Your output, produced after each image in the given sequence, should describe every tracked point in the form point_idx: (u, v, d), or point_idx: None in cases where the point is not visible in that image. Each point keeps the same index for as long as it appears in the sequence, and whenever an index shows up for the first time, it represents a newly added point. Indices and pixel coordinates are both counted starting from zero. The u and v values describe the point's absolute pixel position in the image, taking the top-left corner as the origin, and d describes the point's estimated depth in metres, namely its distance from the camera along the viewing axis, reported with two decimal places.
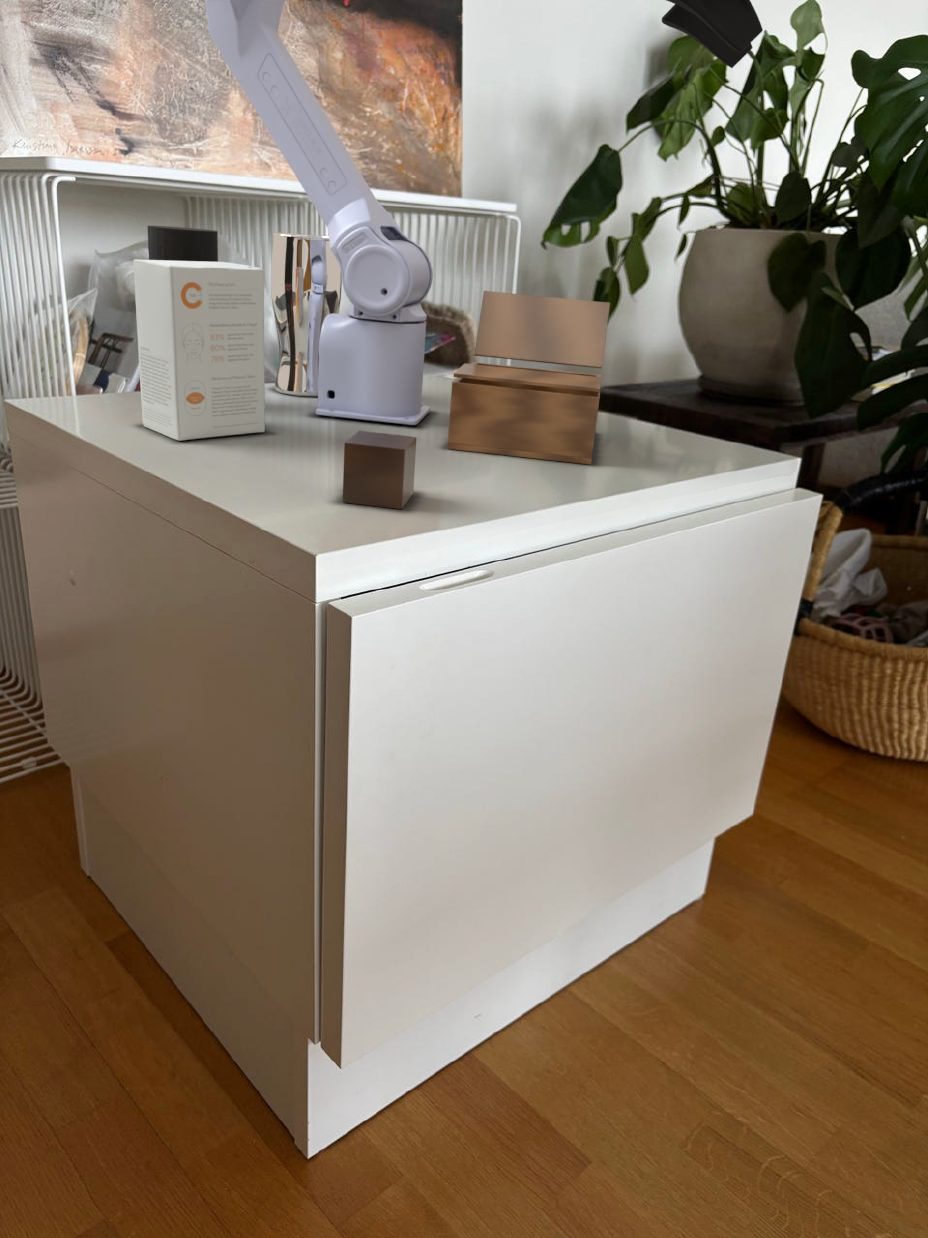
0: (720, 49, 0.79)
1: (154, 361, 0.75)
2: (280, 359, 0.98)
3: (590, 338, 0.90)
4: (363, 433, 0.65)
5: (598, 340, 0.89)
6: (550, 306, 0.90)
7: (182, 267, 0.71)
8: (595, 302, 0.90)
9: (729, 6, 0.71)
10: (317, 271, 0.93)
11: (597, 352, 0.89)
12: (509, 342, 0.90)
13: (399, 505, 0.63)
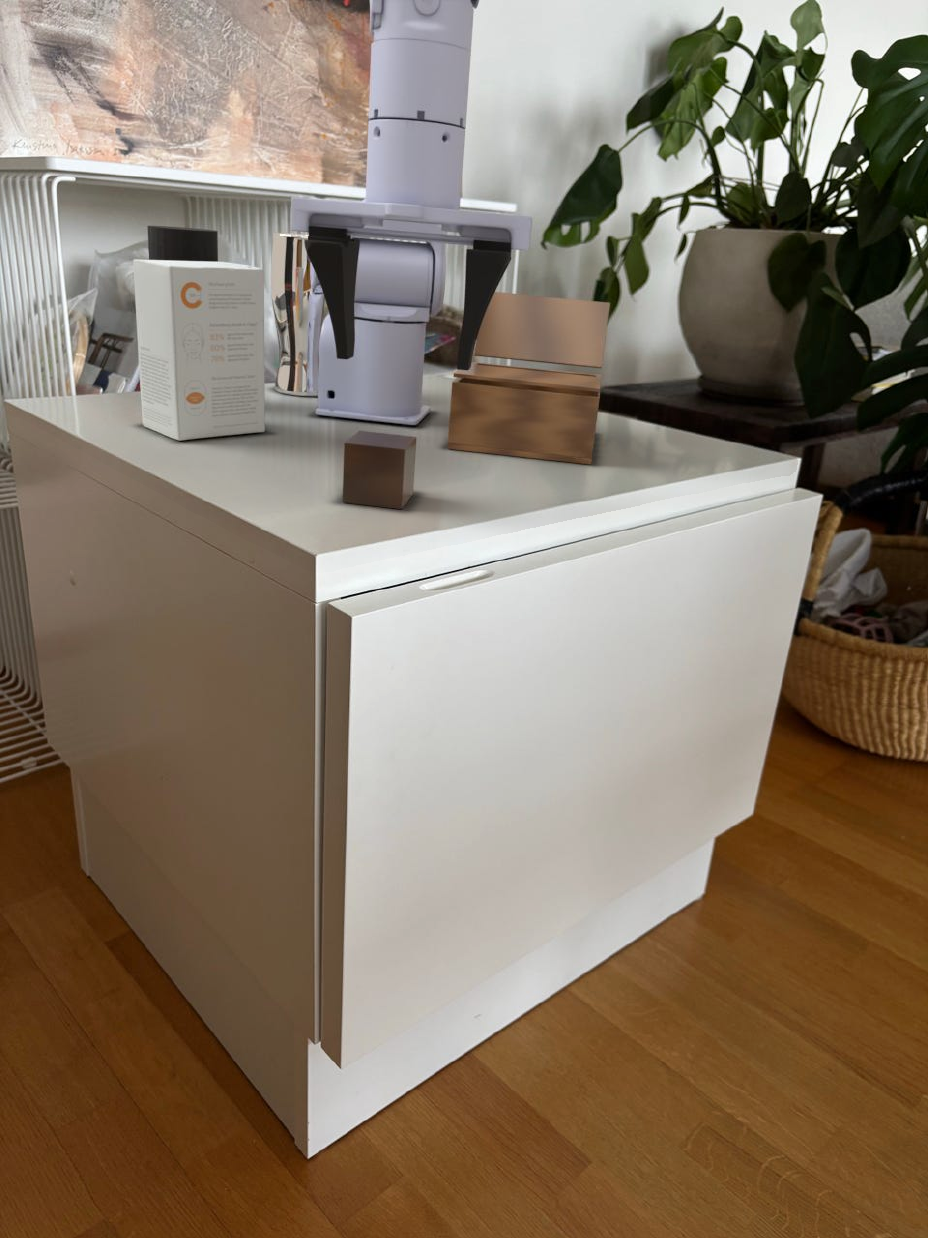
0: None
1: (154, 361, 0.75)
2: (280, 359, 0.98)
3: (590, 338, 0.90)
4: (363, 433, 0.65)
5: (598, 340, 0.89)
6: (550, 306, 0.90)
7: (182, 267, 0.71)
8: (595, 302, 0.90)
9: None
10: None
11: (597, 352, 0.89)
12: (509, 342, 0.90)
13: (399, 505, 0.63)
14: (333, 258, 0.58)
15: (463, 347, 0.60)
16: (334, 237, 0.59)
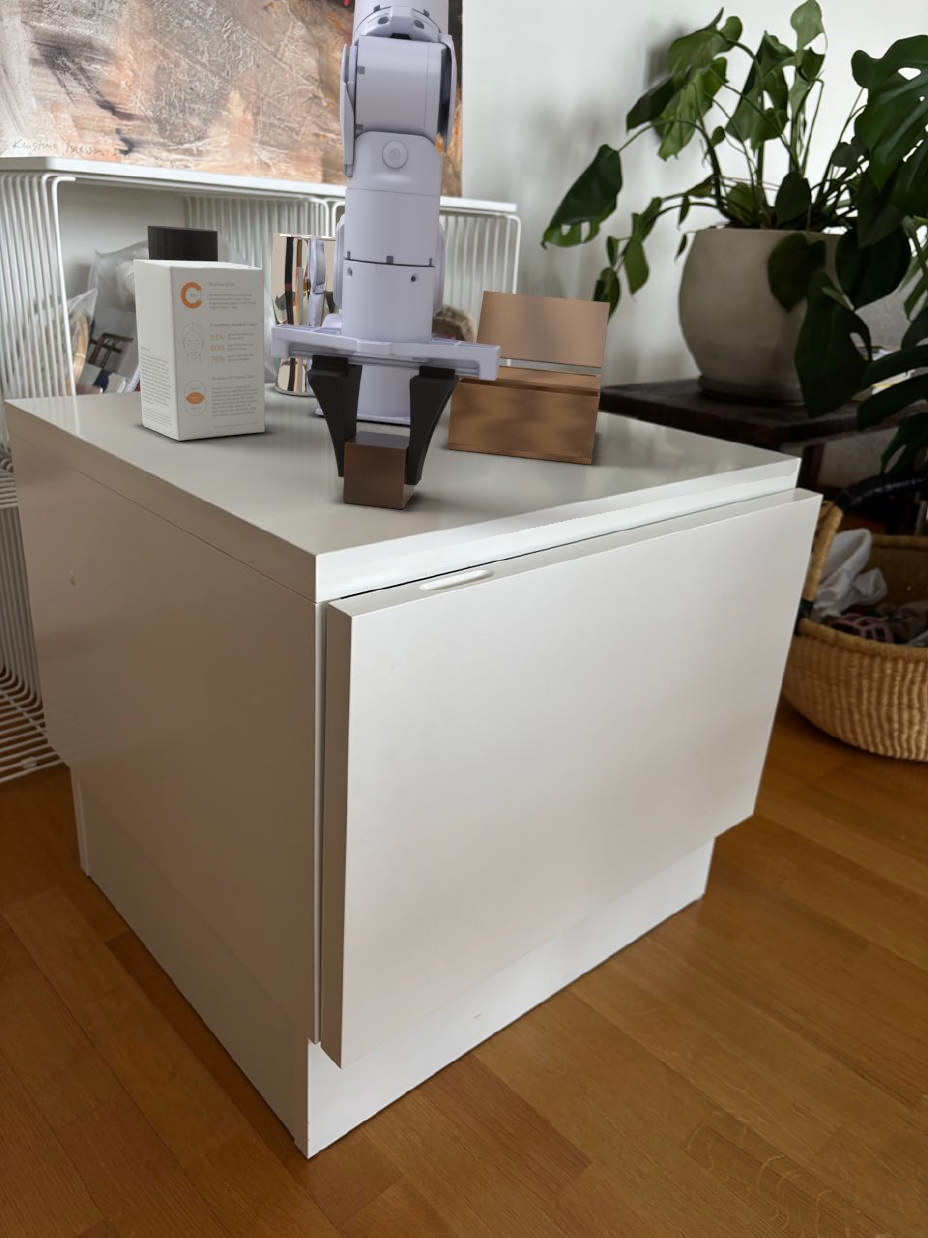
0: None
1: (154, 361, 0.75)
2: (280, 359, 0.98)
3: (590, 338, 0.90)
4: (363, 433, 0.65)
5: (598, 340, 0.89)
6: (550, 306, 0.90)
7: (182, 267, 0.71)
8: (595, 302, 0.90)
9: None
10: (317, 271, 0.93)
11: (597, 352, 0.89)
12: (509, 342, 0.90)
13: (399, 505, 0.63)
14: (333, 389, 0.61)
15: (410, 465, 0.63)
16: (336, 367, 0.61)
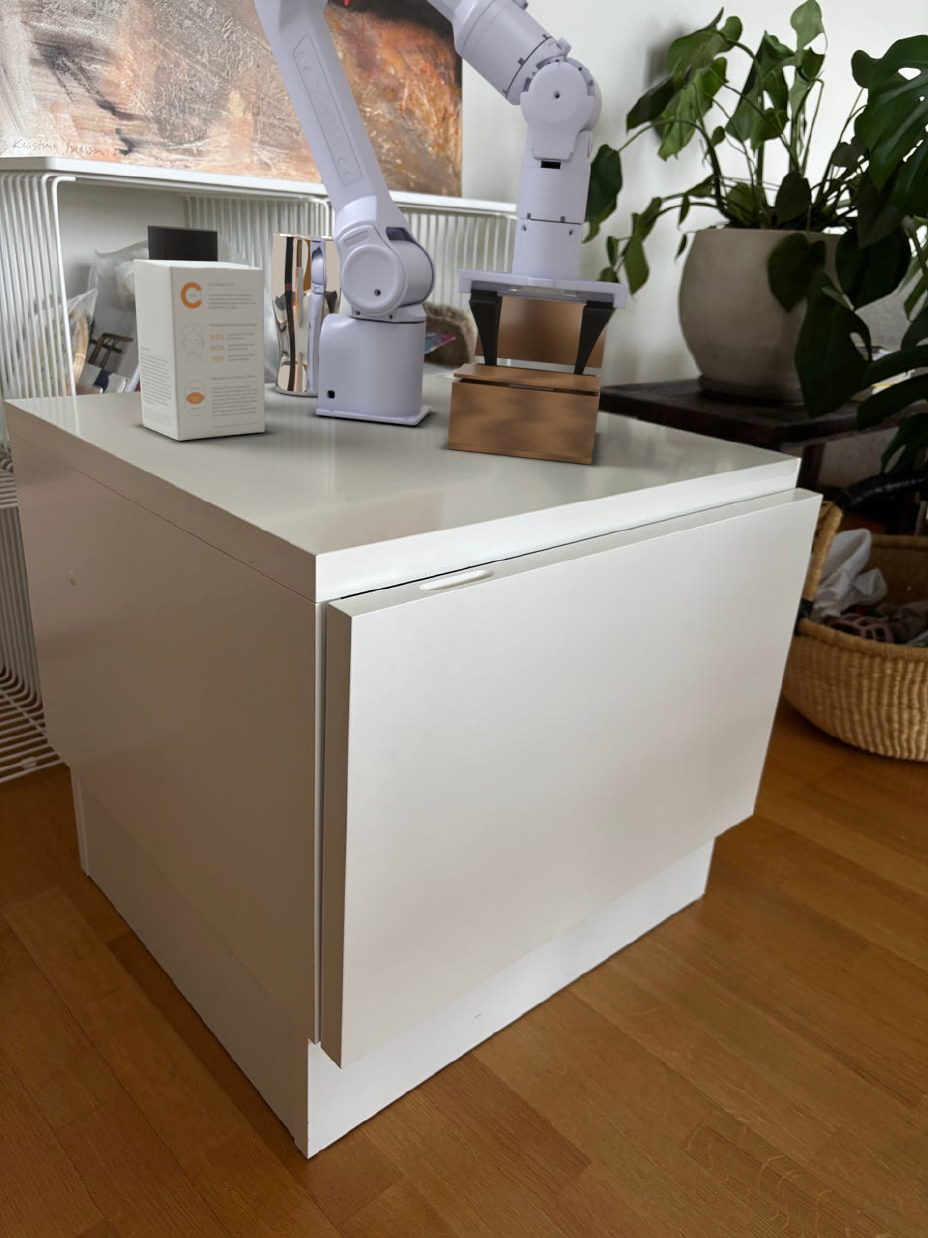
0: None
1: (154, 361, 0.75)
2: (280, 359, 0.98)
3: None
4: None
5: (598, 340, 0.89)
6: (550, 306, 0.90)
7: (182, 267, 0.71)
8: None
9: None
10: (317, 271, 0.93)
11: (597, 352, 0.89)
12: (509, 342, 0.90)
13: None
14: (489, 313, 0.83)
15: None
16: (488, 297, 0.84)
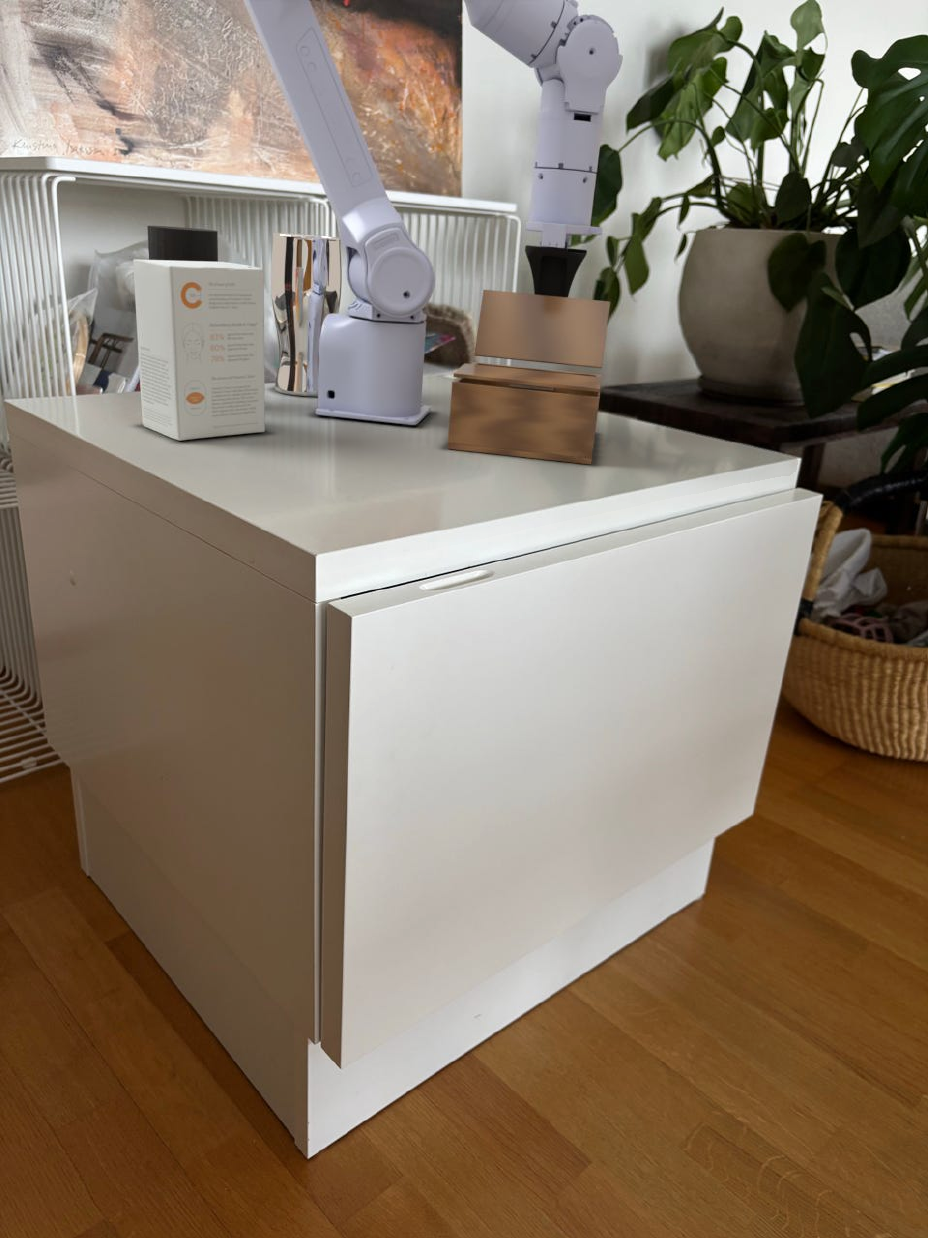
0: None
1: (154, 361, 0.75)
2: (280, 359, 0.98)
3: (590, 337, 0.89)
4: None
5: (598, 340, 0.89)
6: (550, 305, 0.90)
7: (182, 267, 0.71)
8: (595, 301, 0.90)
9: (552, 295, 0.91)
10: (317, 271, 0.93)
11: (597, 352, 0.89)
12: (509, 342, 0.90)
13: None
14: (580, 263, 0.90)
15: None
16: (567, 248, 0.89)
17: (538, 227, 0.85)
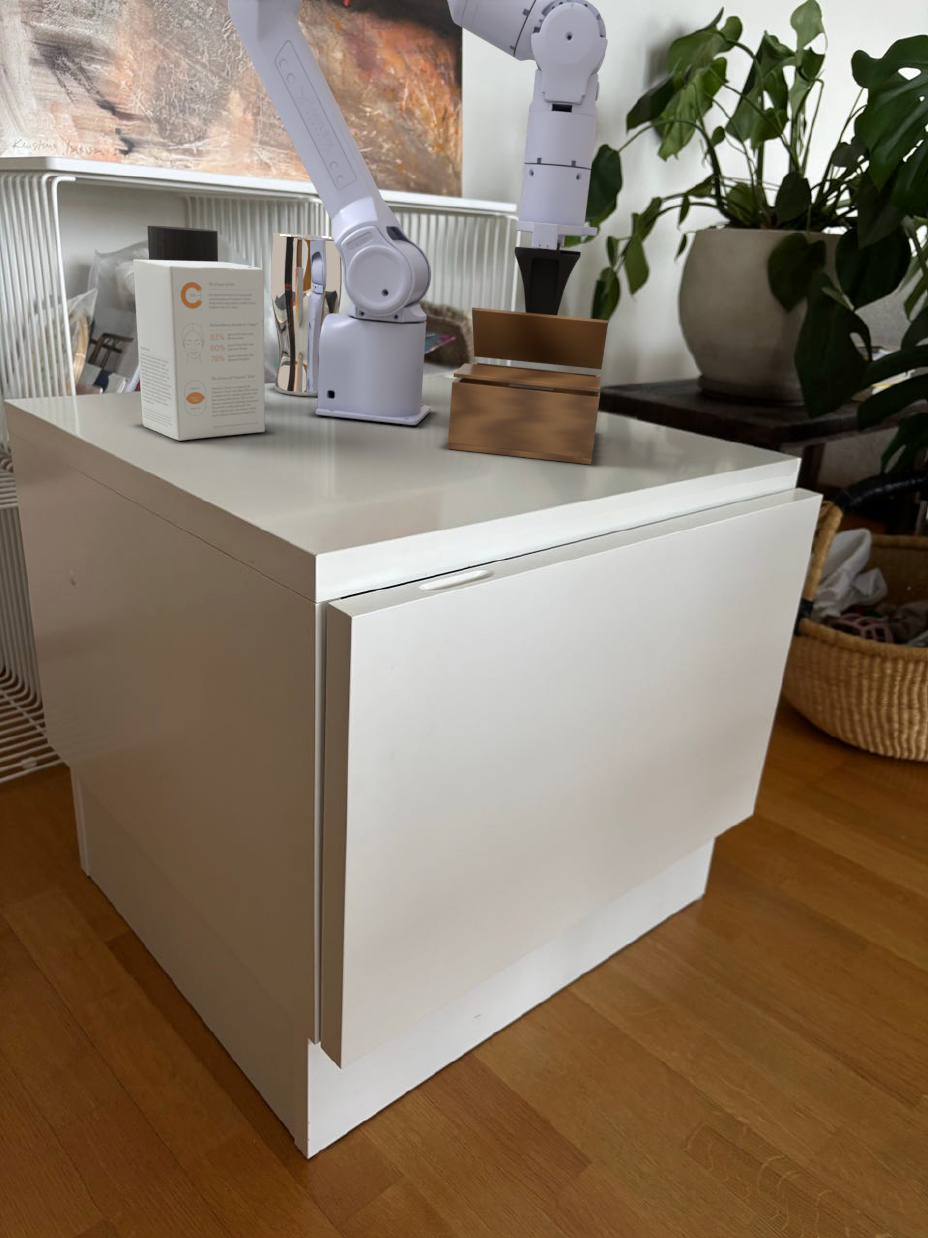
0: None
1: (154, 361, 0.75)
2: (280, 359, 0.98)
3: (588, 348, 0.87)
4: None
5: (597, 350, 0.87)
6: (544, 324, 0.85)
7: (182, 267, 0.71)
8: (592, 322, 0.83)
9: (544, 300, 0.85)
10: (317, 271, 0.93)
11: (596, 359, 0.88)
12: (507, 349, 0.89)
13: None
14: None
15: None
16: None
17: (528, 227, 0.80)
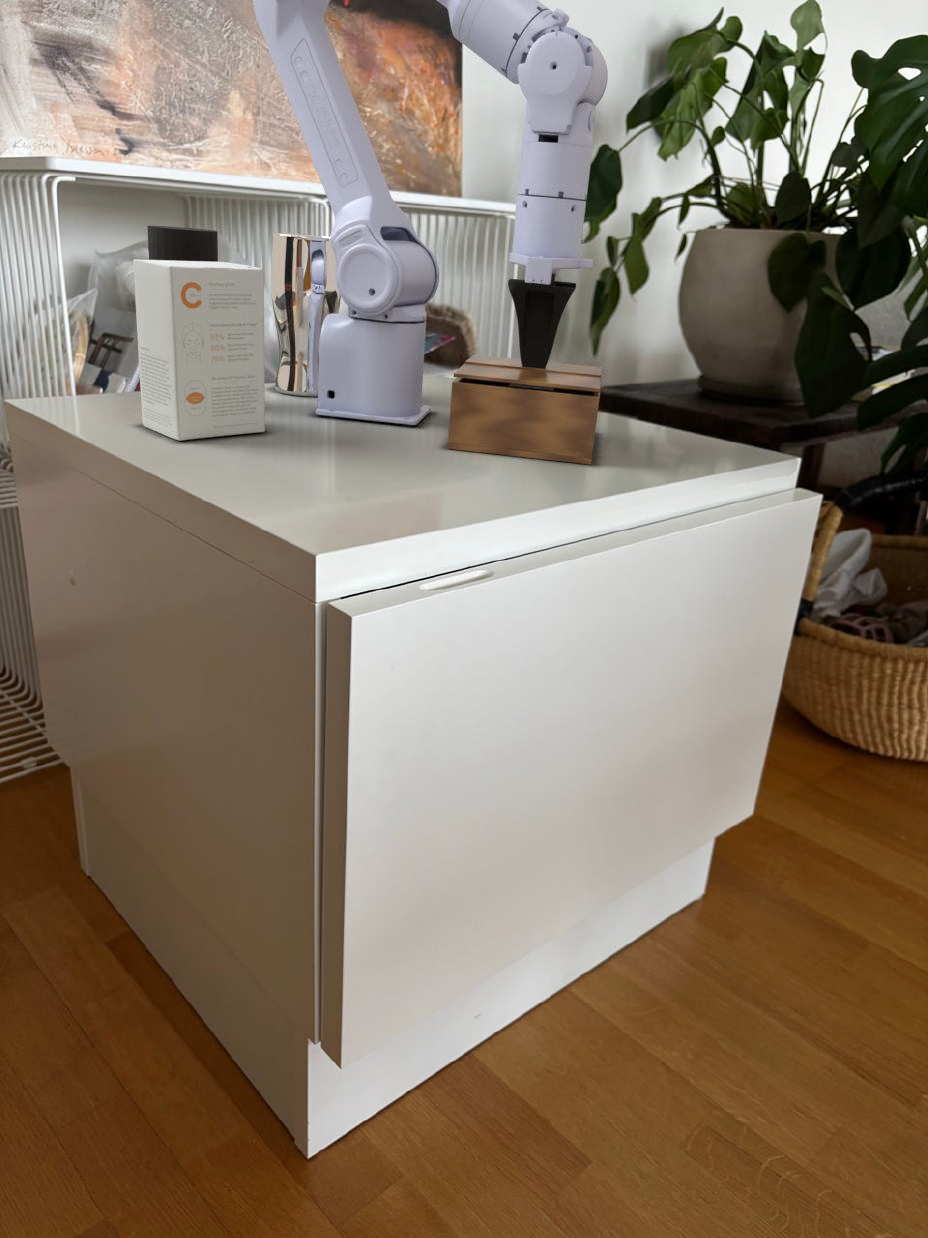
0: None
1: (154, 361, 0.75)
2: (280, 359, 0.98)
3: None
4: None
5: None
6: None
7: (182, 267, 0.71)
8: None
9: (539, 333, 0.83)
10: (317, 271, 0.93)
11: None
12: None
13: None
14: None
15: None
16: (554, 283, 0.81)
17: (522, 261, 0.78)
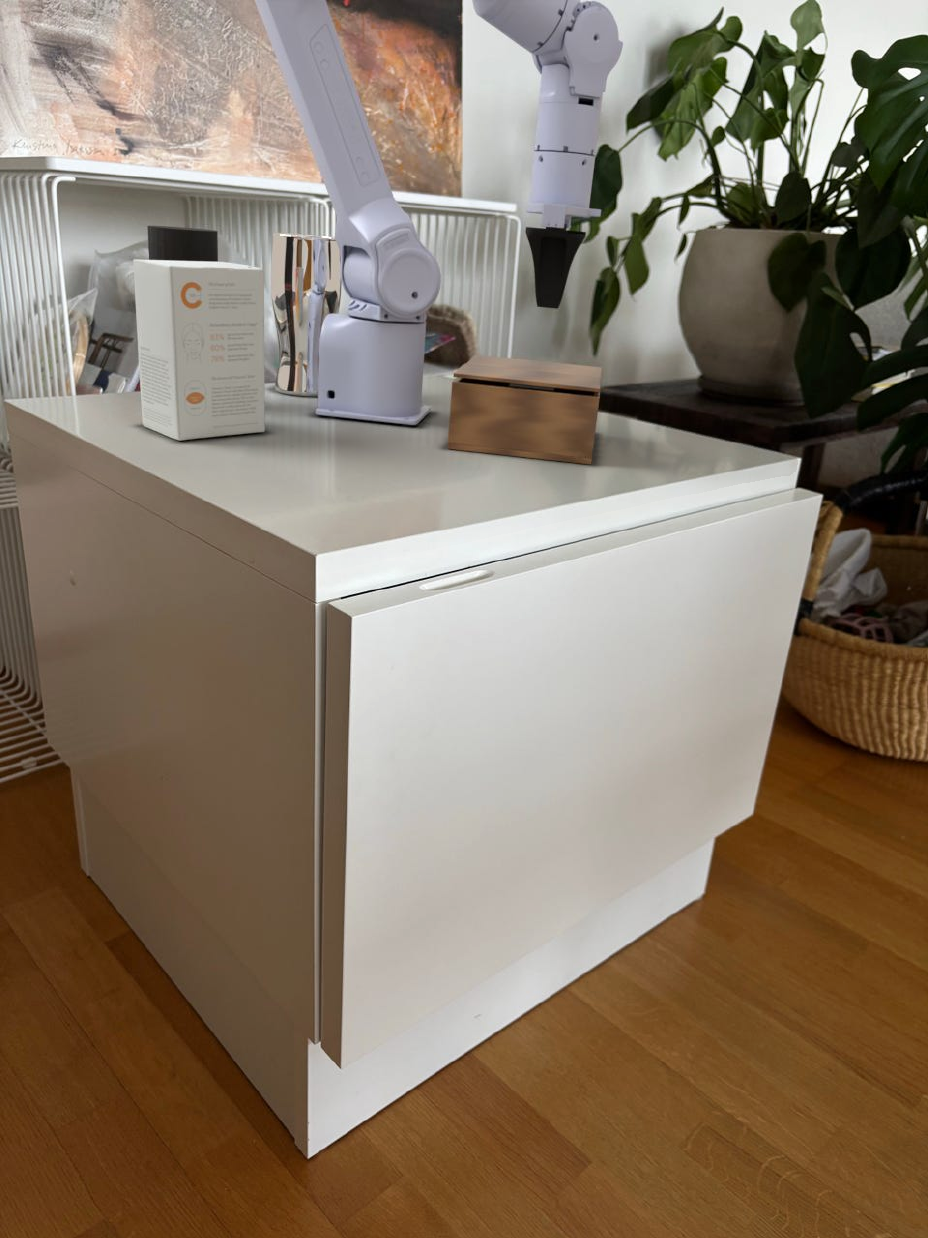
0: None
1: (154, 361, 0.75)
2: (280, 359, 0.98)
3: None
4: None
5: None
6: None
7: (182, 267, 0.71)
8: None
9: (552, 276, 0.93)
10: (317, 271, 0.93)
11: None
12: None
13: None
14: (579, 244, 0.92)
15: None
16: None
17: (538, 208, 0.88)
